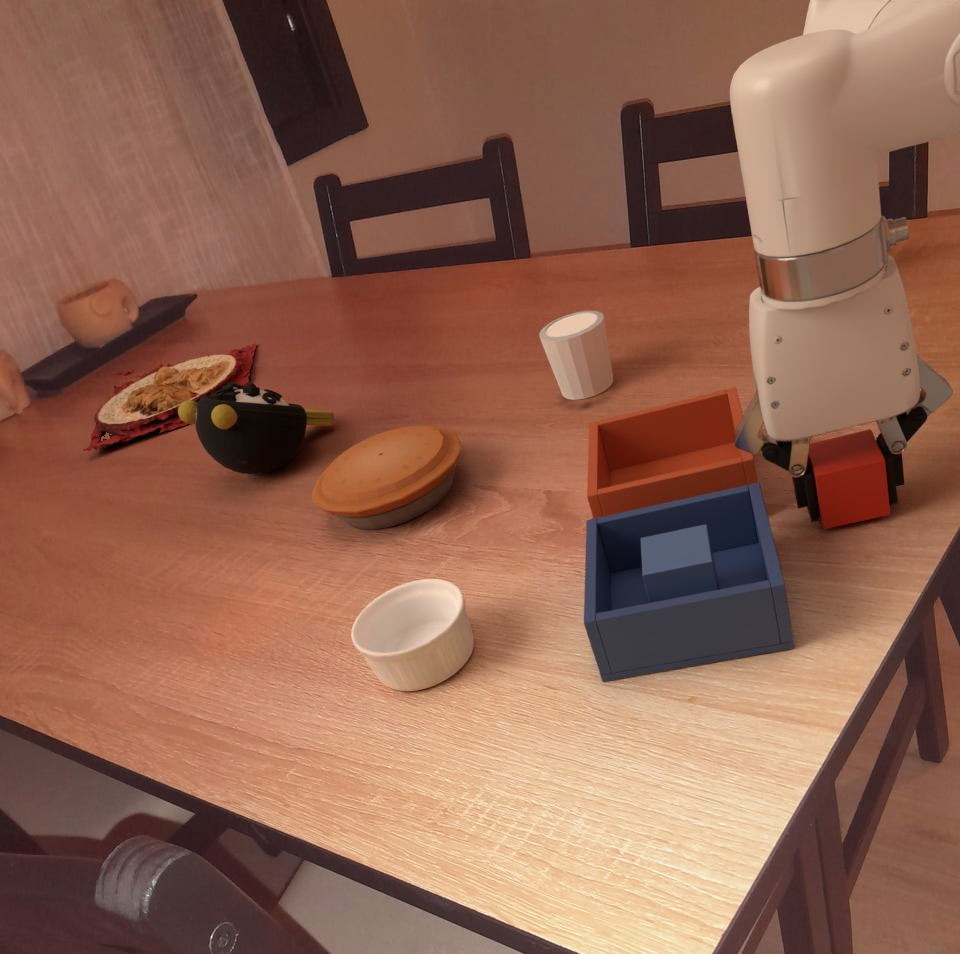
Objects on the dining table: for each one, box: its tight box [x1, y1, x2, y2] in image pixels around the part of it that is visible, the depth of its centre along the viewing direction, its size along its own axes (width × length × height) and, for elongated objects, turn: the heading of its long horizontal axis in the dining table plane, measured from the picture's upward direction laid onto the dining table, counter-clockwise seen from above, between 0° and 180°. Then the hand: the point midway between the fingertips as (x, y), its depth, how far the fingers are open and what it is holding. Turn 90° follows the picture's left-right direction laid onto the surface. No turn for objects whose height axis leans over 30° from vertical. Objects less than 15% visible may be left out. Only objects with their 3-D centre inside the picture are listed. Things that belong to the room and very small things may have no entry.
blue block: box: [641, 524, 720, 603], centre depth 68 cm, size 5×5×5 cm
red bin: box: [586, 386, 758, 519], centre depth 80 cm, size 13×13×5 cm
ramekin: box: [350, 578, 475, 692], centre depth 73 cm, size 9×9×4 cm
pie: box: [311, 425, 462, 530], centre depth 96 cm, size 15×16×5 cm
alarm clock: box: [178, 382, 335, 475], centre depth 111 cm, size 12×15×15 cm
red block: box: [808, 428, 891, 530], centre depth 71 cm, size 5×5×5 cm
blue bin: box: [583, 482, 796, 683], centre depth 68 cm, size 13×13×5 cm
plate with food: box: [82, 342, 257, 452], centre depth 145 cm, size 24×26×4 cm
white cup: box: [538, 310, 614, 401], centre depth 102 cm, size 7×7×7 cm
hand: (849, 501), depth 72 cm, fingers closed on red block, 4 cm apart
